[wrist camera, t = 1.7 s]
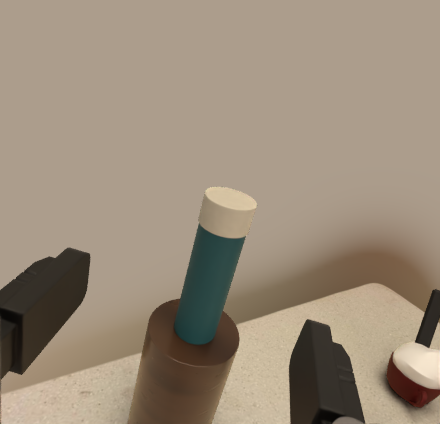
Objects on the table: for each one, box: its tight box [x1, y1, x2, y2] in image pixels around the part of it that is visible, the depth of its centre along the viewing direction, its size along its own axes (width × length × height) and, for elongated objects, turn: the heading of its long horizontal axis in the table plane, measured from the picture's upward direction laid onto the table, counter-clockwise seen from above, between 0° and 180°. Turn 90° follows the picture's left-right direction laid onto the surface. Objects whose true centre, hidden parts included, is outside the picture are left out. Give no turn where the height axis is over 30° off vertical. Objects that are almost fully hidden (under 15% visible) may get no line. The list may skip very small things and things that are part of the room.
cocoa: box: [386, 289, 440, 407], centre depth 43 cm, size 10×6×12 cm, turn 138°
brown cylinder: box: [128, 299, 239, 424], centre depth 30 cm, size 7×7×13 cm
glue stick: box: [174, 187, 257, 345], centre depth 25 cm, size 3×3×11 cm
